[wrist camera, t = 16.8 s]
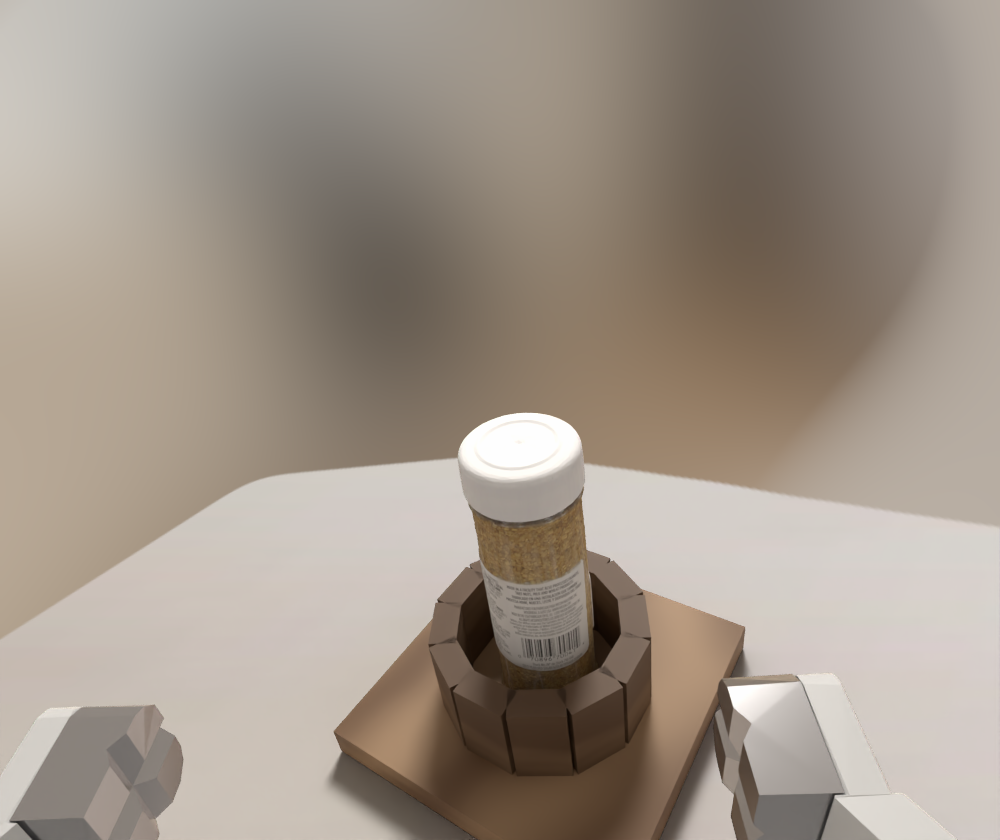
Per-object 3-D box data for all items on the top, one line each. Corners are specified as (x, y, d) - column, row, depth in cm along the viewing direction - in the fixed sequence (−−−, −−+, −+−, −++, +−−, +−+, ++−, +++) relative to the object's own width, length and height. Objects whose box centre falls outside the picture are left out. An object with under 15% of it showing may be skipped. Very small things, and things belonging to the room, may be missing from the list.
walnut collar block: (341, 750, 32) (309, 674, 29) (506, 557, 41) (494, 484, 39) (619, 931, 25) (614, 855, 22) (742, 647, 34) (751, 567, 31)
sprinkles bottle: (599, 639, 34) (584, 405, 27) (598, 725, 30) (579, 480, 23) (506, 637, 35) (467, 409, 27) (493, 720, 31) (444, 482, 24)
